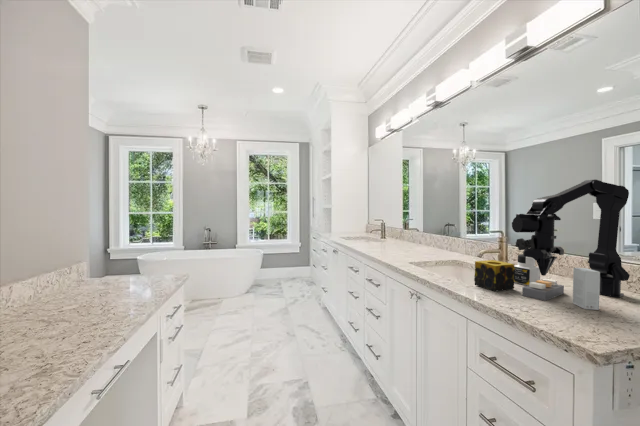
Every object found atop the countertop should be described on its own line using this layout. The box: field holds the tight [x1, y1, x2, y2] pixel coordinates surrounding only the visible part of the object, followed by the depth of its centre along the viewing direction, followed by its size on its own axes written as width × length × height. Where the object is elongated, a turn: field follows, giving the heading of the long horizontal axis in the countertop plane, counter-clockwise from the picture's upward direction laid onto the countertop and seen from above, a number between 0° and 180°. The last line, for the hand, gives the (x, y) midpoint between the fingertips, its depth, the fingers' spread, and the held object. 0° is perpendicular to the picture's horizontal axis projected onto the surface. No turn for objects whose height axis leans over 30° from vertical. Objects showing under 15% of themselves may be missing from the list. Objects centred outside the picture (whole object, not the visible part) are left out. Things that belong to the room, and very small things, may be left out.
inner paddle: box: [541, 278, 558, 285], centre depth 111 cm, size 3×4×1 cm, turn 33°
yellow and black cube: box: [473, 259, 515, 292], centre depth 119 cm, size 10×10×10 cm
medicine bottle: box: [514, 253, 541, 286], centre depth 125 cm, size 7×7×12 cm
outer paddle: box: [529, 282, 546, 289], centre depth 106 cm, size 3×4×1 cm, turn 33°
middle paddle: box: [536, 279, 552, 287], centre depth 109 cm, size 3×4×1 cm, turn 33°
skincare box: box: [572, 267, 601, 311], centre depth 96 cm, size 6×4×12 cm
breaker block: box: [521, 283, 565, 302], centre depth 109 cm, size 16×7×3 cm, turn 123°
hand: (543, 275), depth 108 cm, fingers closed
